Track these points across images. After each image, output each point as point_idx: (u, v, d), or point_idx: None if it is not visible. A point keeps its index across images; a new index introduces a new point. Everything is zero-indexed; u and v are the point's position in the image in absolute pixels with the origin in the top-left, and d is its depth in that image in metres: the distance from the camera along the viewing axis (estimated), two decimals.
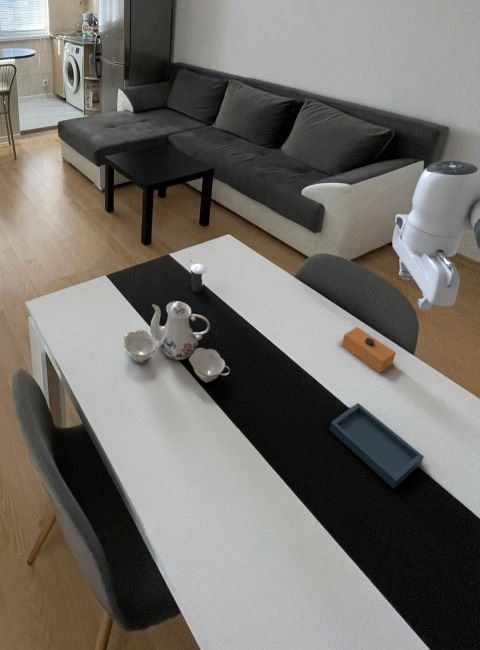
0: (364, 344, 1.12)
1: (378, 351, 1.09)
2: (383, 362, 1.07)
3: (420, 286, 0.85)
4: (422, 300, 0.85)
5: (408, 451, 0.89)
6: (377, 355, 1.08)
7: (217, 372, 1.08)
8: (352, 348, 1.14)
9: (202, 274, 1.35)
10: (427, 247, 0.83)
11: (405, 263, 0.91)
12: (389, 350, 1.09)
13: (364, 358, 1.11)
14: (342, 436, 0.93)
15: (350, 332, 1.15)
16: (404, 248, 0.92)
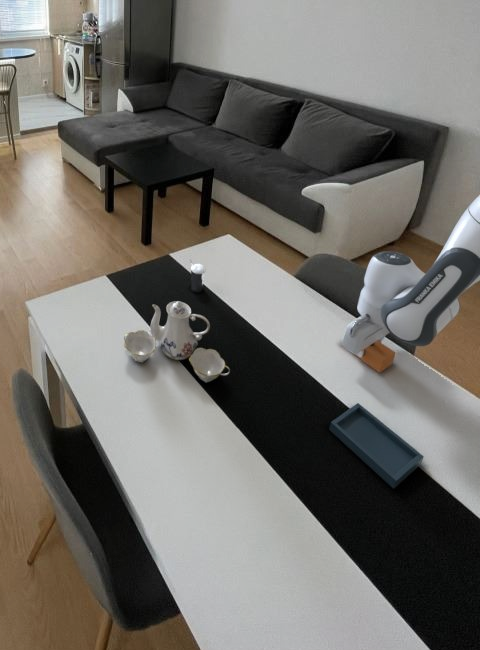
0: None
1: (378, 351, 1.09)
2: (383, 362, 1.07)
3: None
4: None
5: (408, 451, 0.89)
6: (377, 356, 1.08)
7: (217, 372, 1.08)
8: None
9: (202, 274, 1.35)
10: (361, 309, 1.08)
11: None
12: (389, 350, 1.09)
13: (364, 358, 1.11)
14: (342, 436, 0.93)
15: None
16: None
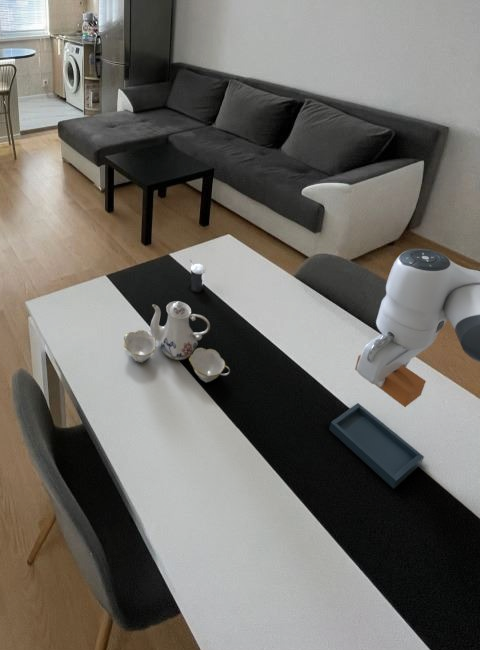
0: None
1: (403, 378, 0.85)
2: (410, 394, 0.83)
3: None
4: None
5: (408, 451, 0.89)
6: (402, 385, 0.84)
7: (217, 372, 1.08)
8: None
9: (202, 274, 1.35)
10: (381, 325, 0.83)
11: None
12: (417, 378, 0.85)
13: (384, 387, 0.87)
14: (342, 436, 0.93)
15: None
16: None
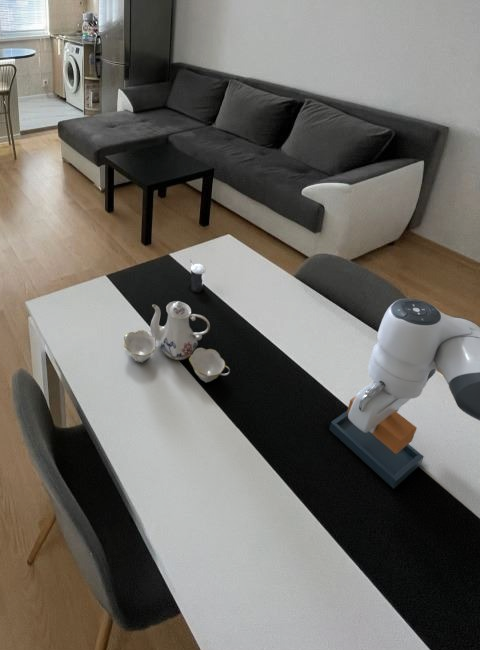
0: None
1: (394, 425, 0.86)
2: (401, 442, 0.83)
3: None
4: None
5: (408, 451, 0.89)
6: (393, 432, 0.84)
7: (217, 372, 1.08)
8: None
9: (202, 274, 1.35)
10: (373, 373, 0.84)
11: None
12: (408, 424, 0.86)
13: (376, 433, 0.87)
14: (342, 436, 0.93)
15: None
16: None
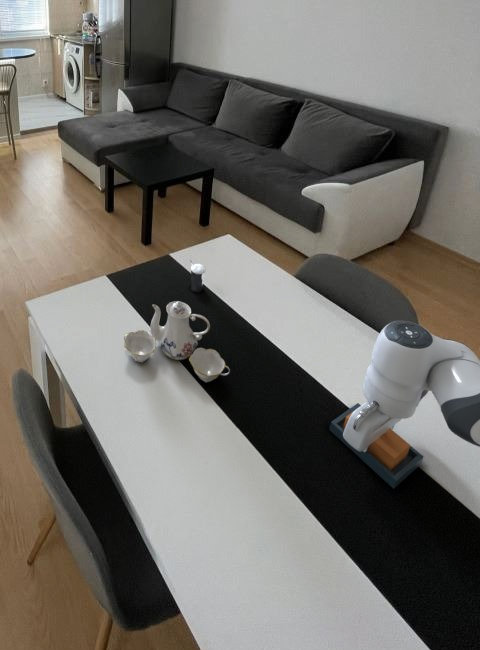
0: None
1: (388, 442, 0.88)
2: (395, 459, 0.85)
3: None
4: None
5: (408, 451, 0.89)
6: (387, 450, 0.86)
7: (217, 372, 1.08)
8: None
9: (202, 274, 1.35)
10: (367, 393, 0.86)
11: None
12: (402, 441, 0.88)
13: (371, 450, 0.89)
14: (342, 436, 0.93)
15: None
16: None
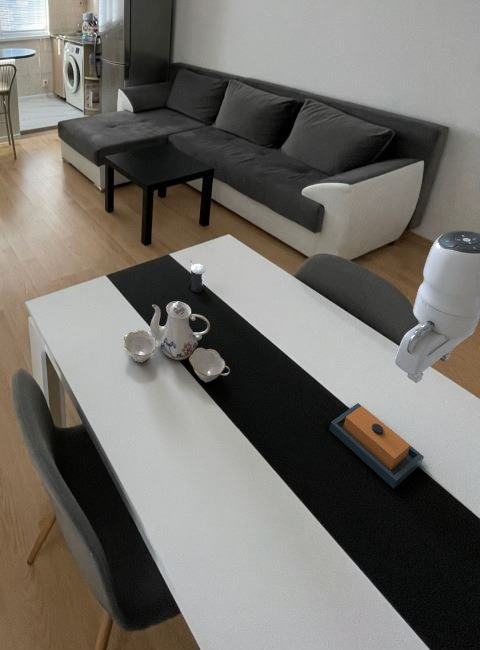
0: (371, 432, 0.90)
1: (388, 442, 0.88)
2: (395, 459, 0.85)
3: None
4: None
5: (408, 451, 0.89)
6: (387, 450, 0.86)
7: (217, 372, 1.08)
8: (355, 435, 0.92)
9: (202, 274, 1.35)
10: (420, 314, 0.78)
11: None
12: (402, 441, 0.88)
13: (371, 450, 0.89)
14: (342, 436, 0.93)
15: (353, 414, 0.94)
16: None
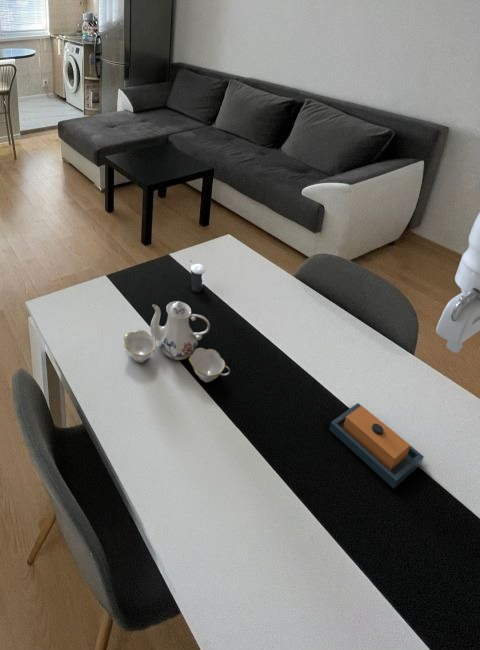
0: (371, 432, 0.90)
1: (388, 442, 0.88)
2: (395, 459, 0.85)
3: None
4: None
5: (408, 451, 0.89)
6: (387, 450, 0.86)
7: (217, 372, 1.08)
8: (355, 435, 0.92)
9: (202, 274, 1.35)
10: (464, 281, 0.76)
11: None
12: (402, 441, 0.88)
13: (371, 450, 0.89)
14: (342, 436, 0.93)
15: (353, 414, 0.94)
16: None
